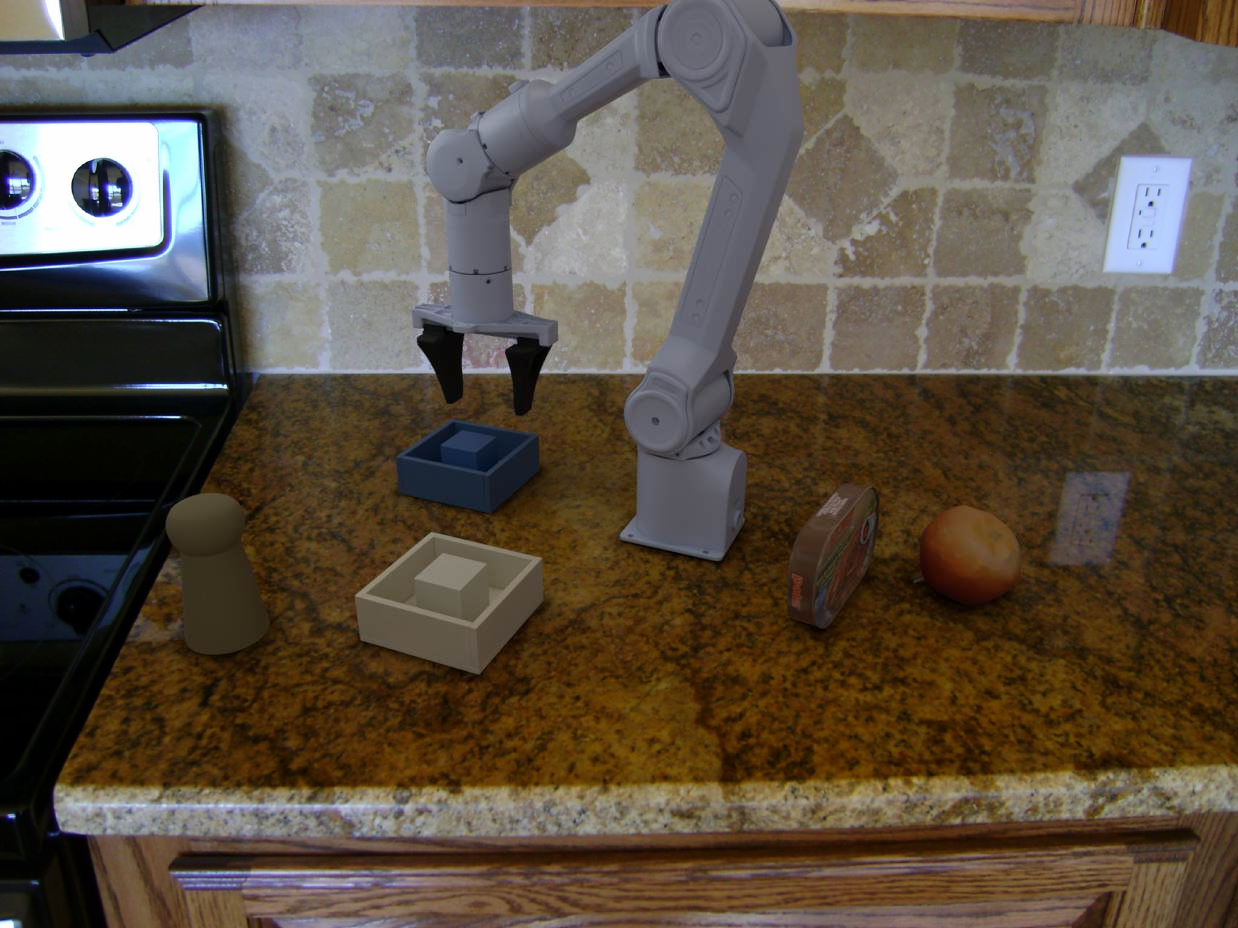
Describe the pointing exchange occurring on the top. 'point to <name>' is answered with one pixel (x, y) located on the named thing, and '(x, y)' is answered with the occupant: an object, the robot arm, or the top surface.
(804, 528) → the tin
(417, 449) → the blue bin
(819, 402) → the top surface
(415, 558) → the cream bin
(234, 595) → the cork
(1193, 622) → the top surface
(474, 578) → the cream block
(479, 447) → the blue block
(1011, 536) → the fruit
